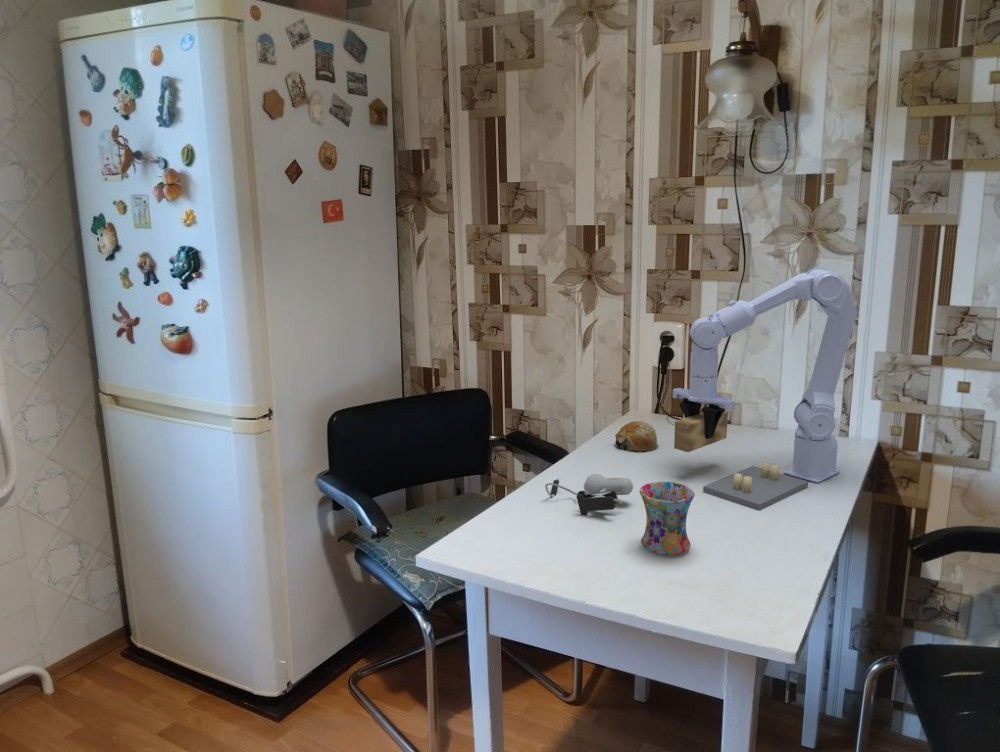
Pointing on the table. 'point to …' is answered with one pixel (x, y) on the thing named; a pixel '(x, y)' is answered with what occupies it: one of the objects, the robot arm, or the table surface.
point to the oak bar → (697, 432)
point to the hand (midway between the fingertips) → (701, 435)
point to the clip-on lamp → (597, 492)
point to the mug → (666, 517)
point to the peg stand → (756, 486)
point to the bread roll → (637, 437)
